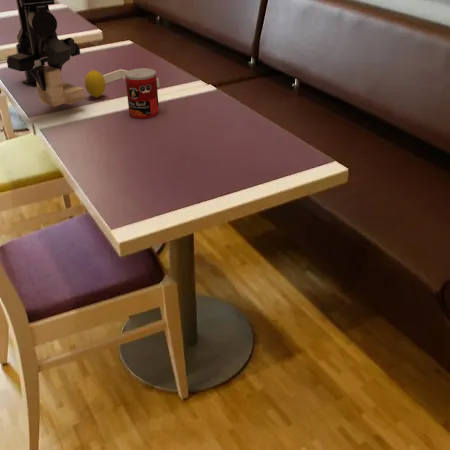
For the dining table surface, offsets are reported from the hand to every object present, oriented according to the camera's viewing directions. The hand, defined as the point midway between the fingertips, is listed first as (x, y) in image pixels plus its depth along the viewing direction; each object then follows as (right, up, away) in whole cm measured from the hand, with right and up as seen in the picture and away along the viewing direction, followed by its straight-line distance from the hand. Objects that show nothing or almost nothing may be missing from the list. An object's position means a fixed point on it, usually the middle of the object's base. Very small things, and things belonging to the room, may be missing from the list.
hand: (50, 88), depth 159 cm
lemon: (+9, 0, +14) cm, 17 cm away
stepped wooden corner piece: (+2, -2, +4) cm, 5 cm away
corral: (+16, +5, +21) cm, 27 cm away
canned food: (+24, -6, +3) cm, 25 cm away
